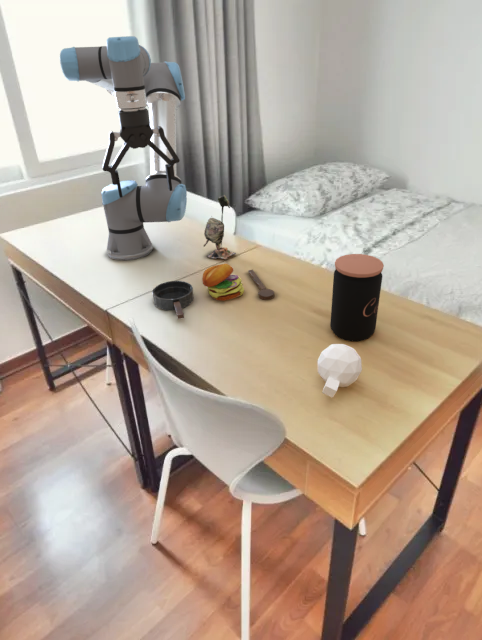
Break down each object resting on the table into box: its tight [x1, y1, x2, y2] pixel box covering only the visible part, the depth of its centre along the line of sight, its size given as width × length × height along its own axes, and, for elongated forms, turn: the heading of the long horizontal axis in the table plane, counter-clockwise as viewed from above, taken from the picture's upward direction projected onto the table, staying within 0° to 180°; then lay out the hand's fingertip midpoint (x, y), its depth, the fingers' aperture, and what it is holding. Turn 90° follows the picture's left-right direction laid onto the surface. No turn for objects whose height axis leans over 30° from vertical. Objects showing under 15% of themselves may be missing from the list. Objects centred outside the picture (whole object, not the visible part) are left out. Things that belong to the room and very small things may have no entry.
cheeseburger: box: [201, 263, 245, 302], centre depth 129 cm, size 10×11×10 cm
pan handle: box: [173, 301, 185, 320], centre depth 120 cm, size 7×2×3 cm, turn 16°
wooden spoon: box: [248, 269, 275, 301], centre depth 134 cm, size 17×4×1 cm, turn 16°
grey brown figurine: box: [203, 194, 237, 260], centre depth 149 cm, size 8×11×20 cm
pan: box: [151, 280, 195, 311], centre depth 128 cm, size 11×11×4 cm
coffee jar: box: [329, 253, 385, 343], centre depth 107 cm, size 11×11×18 cm
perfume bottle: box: [316, 343, 363, 398], centre depth 93 cm, size 9×9×12 cm
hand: (145, 192), depth 127 cm, fingers open, 13 cm apart
